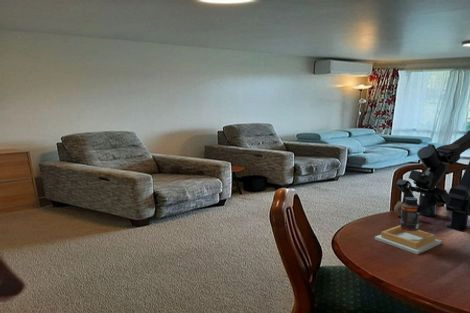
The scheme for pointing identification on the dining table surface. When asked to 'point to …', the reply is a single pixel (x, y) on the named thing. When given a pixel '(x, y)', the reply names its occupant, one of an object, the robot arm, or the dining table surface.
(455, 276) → the dining table surface
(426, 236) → the plate
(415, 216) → the supplement bottle
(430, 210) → the supplement bottle
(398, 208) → the oil lamp
